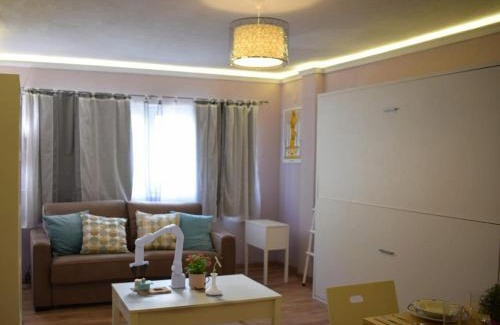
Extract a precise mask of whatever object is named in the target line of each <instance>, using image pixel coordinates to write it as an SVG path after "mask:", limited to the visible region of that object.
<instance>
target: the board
mask: <svg viewBox="0 0 500 325" xmlns="http://www.w3.org/2000/svg"><path fill="white" fill-rule="evenodd" d="M136 292H137V293H138V295H140V296H141V297H145V296H152V295H153V296H155V295H162V294H165V295H166V294H171V293H172V290H171V289H169V288H168V287H167V286H158V287H150V289H145V290H138V289H137V291H136Z"/></svg>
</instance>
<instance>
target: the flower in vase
mask: <svg viewBox="0 0 500 325" xmlns="http://www.w3.org/2000/svg"><path fill="white" fill-rule="evenodd" d="M214 258H215V261H216V262H215V263H214V266H213V270H212V272H211V273H210V276H211V285H210V286H209V287H208V288H206V289H205V292H204V293H205V294H206V295H209V296H218V295H221V294H222V293H223V290H222V289H221V288H220V287H218V286H217V284H216V280H217V279H216V278H217V276H218V273H216V271H217V270H216V268H215V266H216V265H217V264H218V266H219V267H220V268H222V265H221V262H219V259H218V257H217V256H214Z"/></svg>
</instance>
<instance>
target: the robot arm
mask: <svg viewBox="0 0 500 325" xmlns="http://www.w3.org/2000/svg"><path fill="white" fill-rule="evenodd" d="M164 234H173V235H174V237H176V243H175V251H174V259H173V262H172V265H171V267H170V268H171V284H169V286H168V287H170V288H172V289H181V288H186V278H187V277H186V274H185V273H183V267H182V266H183V262H182V258H183V248H184V240H185V234H184V233H183V231H182V229H181V227H179V225H176V223H171V224H169V225H166V226H164V227H162V228H160V229H159V230H157V231H155V232H153V233H152V232H148V233H146V235H144V236H140V238H136V239H135V241H134V245H135V251H134V262H132V263H129V269H130V271H131V273H132V277H133V278H136V277H137V270H138V266H141V275H142V276H146V272H147V270H148V267H149V263H150V262H149V261H148V260H146V261H145V259H144V257H145V254H144V253H145V250H144V249H145V248H144V247H145V245H148V244H149V243H152V242H154V241H155V239H156V238H158V237H160V236H162V235H164Z"/></svg>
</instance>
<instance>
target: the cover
mask: <svg viewBox="0 0 500 325" xmlns="http://www.w3.org/2000/svg"><path fill="white" fill-rule="evenodd" d="M141 279H142V281H138V290H145V289H150V288H151V285H154V282H153V281H151V280H146V278H144V277H142V278H141Z"/></svg>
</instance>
